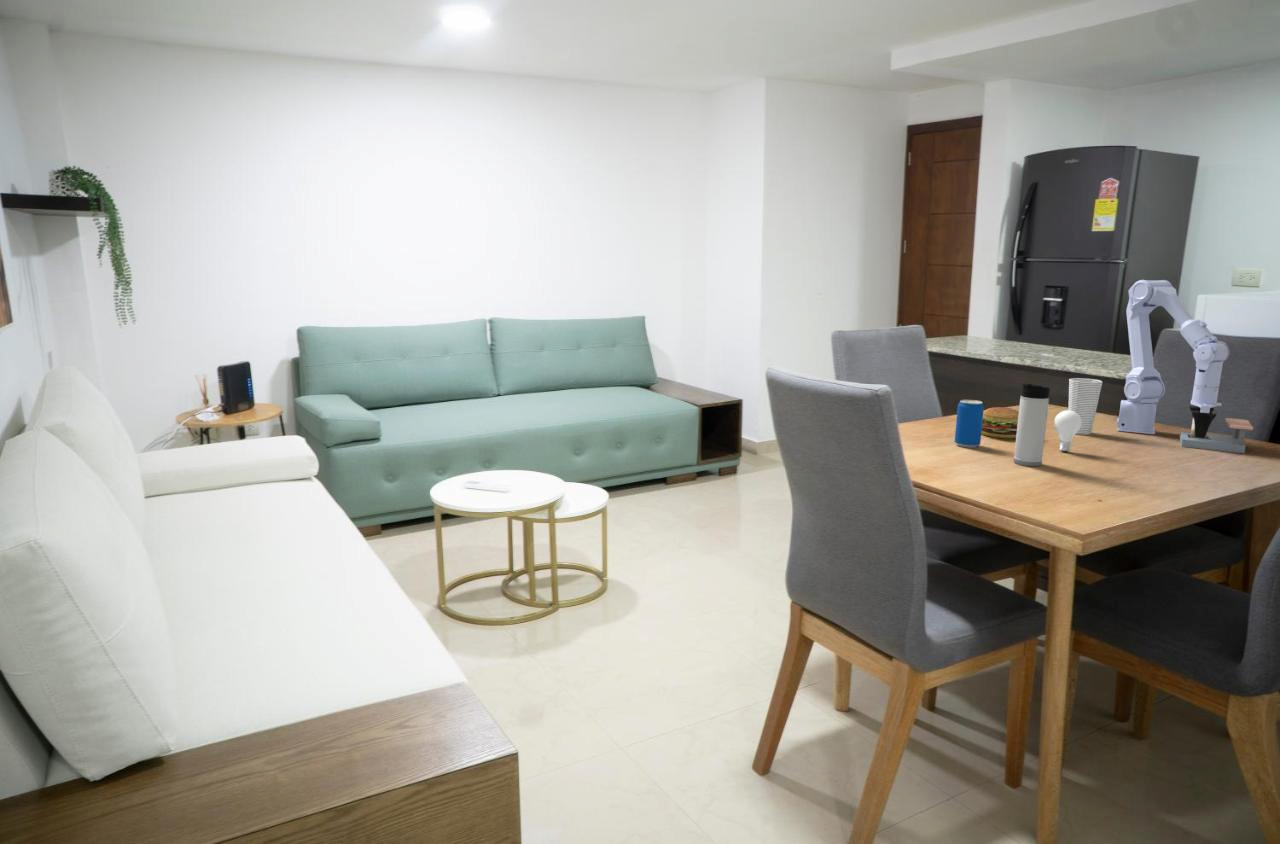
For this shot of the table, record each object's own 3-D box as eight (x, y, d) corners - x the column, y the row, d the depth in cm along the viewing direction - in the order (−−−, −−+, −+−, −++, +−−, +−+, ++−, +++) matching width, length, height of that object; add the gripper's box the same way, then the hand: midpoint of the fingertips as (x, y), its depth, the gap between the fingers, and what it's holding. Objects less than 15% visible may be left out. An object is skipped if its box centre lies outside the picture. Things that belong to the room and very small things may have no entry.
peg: (1190, 444, 229) (1194, 416, 227) (1188, 442, 232) (1192, 413, 231) (1205, 446, 227) (1210, 417, 226) (1203, 443, 231) (1207, 415, 229)
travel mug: (1006, 461, 206) (1015, 381, 202) (1027, 459, 208) (1036, 380, 204) (1026, 467, 200) (1035, 385, 196) (1047, 465, 203) (1056, 384, 199)
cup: (1100, 436, 237) (1107, 382, 234) (1068, 435, 239) (1075, 381, 236) (1089, 430, 246) (1096, 378, 243) (1058, 429, 247) (1065, 377, 244)
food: (981, 439, 232) (983, 411, 230) (970, 429, 245) (973, 402, 244) (1033, 442, 229) (1036, 413, 228) (1020, 431, 243) (1023, 405, 241)
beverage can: (975, 443, 226) (980, 399, 224) (983, 448, 220) (987, 404, 217) (951, 442, 227) (955, 399, 224) (957, 447, 220) (962, 403, 218)
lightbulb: (1052, 447, 222) (1056, 407, 220) (1078, 451, 219) (1083, 409, 217) (1049, 452, 217) (1054, 410, 215) (1077, 455, 214) (1082, 413, 211)
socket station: (1181, 446, 226) (1185, 421, 225) (1179, 438, 237) (1182, 414, 236) (1249, 453, 219) (1253, 427, 217) (1243, 444, 230) (1247, 419, 228)
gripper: (1226, 390, 218) (1218, 441, 221) (1221, 384, 231) (1214, 432, 233) (1194, 388, 222) (1187, 438, 225) (1191, 381, 234) (1184, 429, 237)
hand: (1198, 434), depth 229 cm, fingers open, 7 cm apart
